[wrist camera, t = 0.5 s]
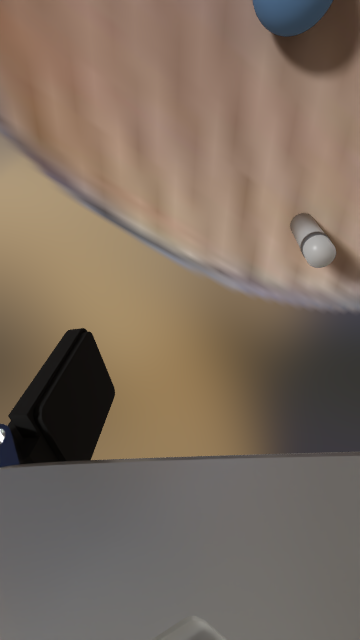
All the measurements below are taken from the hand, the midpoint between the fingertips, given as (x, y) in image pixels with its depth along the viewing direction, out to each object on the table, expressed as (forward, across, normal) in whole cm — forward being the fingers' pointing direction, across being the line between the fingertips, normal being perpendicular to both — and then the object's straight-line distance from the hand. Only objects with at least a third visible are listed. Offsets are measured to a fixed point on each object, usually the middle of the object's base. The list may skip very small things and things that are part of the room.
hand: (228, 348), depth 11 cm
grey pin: (+28, -7, +6) cm, 29 cm away
